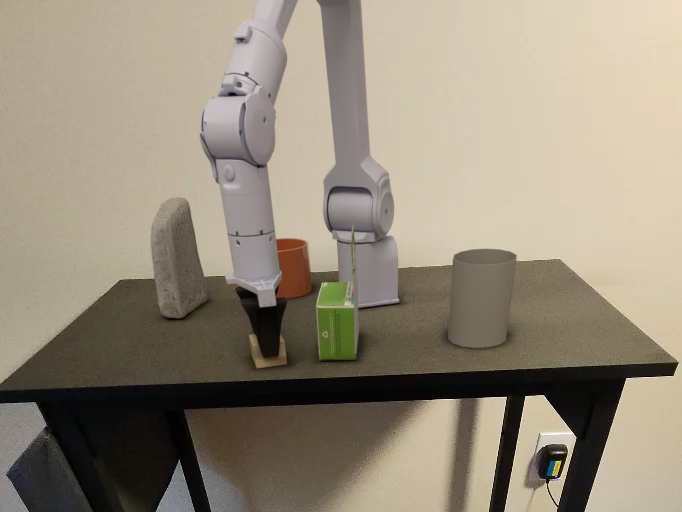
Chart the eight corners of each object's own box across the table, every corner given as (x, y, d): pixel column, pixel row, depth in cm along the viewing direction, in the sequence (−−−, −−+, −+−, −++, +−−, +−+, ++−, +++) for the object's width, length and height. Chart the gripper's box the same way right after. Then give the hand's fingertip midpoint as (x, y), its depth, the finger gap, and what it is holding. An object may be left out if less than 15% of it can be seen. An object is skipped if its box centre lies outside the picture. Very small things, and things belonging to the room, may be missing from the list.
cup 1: (305, 281, 108) (301, 235, 103) (316, 295, 102) (312, 247, 97) (256, 286, 107) (249, 241, 102) (263, 301, 100) (257, 253, 96)
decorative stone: (188, 321, 95) (162, 207, 84) (154, 320, 96) (124, 207, 85) (213, 300, 102) (193, 193, 91) (181, 299, 103) (157, 193, 92)
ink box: (324, 335, 88) (316, 222, 78) (360, 334, 87) (356, 221, 77) (319, 362, 80) (308, 241, 70) (357, 361, 80) (352, 239, 70)
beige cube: (281, 353, 83) (279, 330, 81) (287, 364, 80) (284, 340, 78) (252, 357, 82) (248, 334, 80) (256, 368, 80) (252, 344, 77)
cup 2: (469, 352, 81) (476, 268, 74) (436, 334, 86) (440, 255, 79) (518, 339, 83) (530, 257, 76) (484, 323, 89) (492, 245, 81)
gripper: (212, 222, 75) (232, 336, 85) (224, 248, 65) (245, 373, 75) (267, 217, 76) (280, 330, 86) (286, 241, 66) (300, 366, 76)
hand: (268, 350), depth 80 cm, fingers closed on beige cube, 4 cm apart
